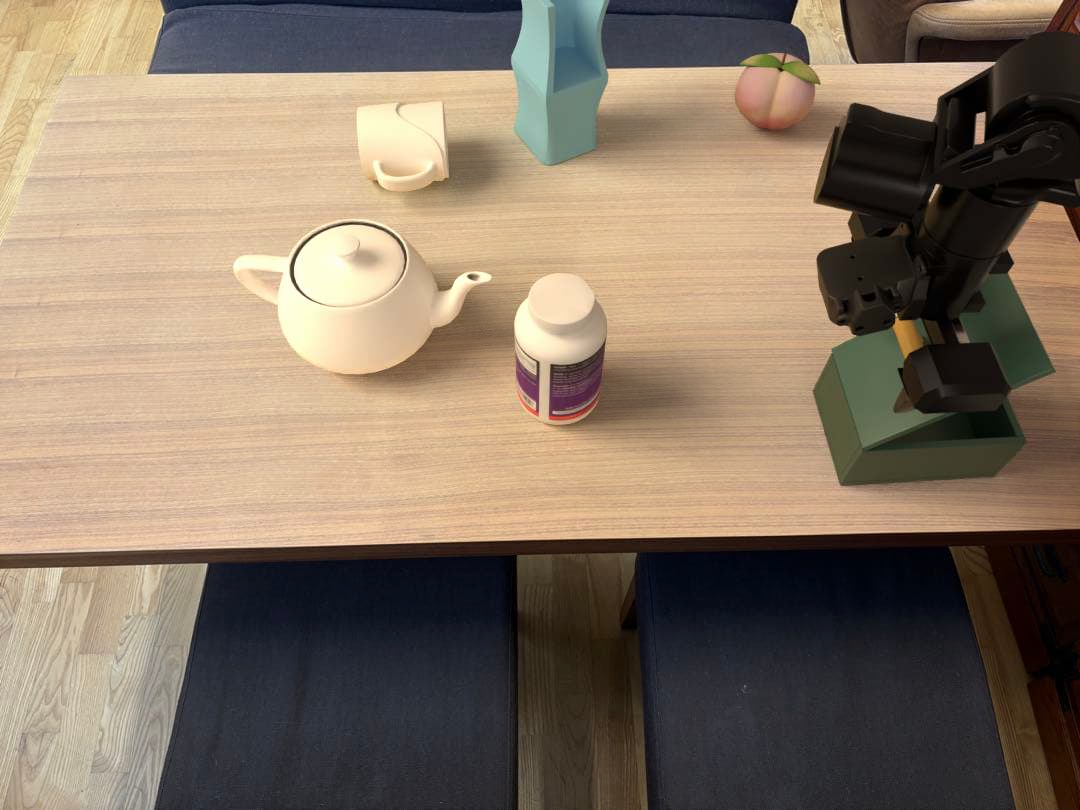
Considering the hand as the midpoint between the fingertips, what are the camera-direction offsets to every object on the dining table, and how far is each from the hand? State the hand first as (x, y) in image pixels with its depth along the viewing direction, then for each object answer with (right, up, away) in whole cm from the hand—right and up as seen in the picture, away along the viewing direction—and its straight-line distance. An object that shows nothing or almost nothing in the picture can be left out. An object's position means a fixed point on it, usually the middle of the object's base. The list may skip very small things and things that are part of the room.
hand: (883, 364), depth 70 cm
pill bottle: (-26, -2, +13) cm, 29 cm away
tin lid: (+5, 0, +1) cm, 5 cm away
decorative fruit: (-1, +31, +35) cm, 46 cm away
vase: (-26, +29, +33) cm, 51 cm away
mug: (-43, +23, +29) cm, 57 cm away
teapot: (-45, +4, +17) cm, 48 cm away
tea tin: (+6, -6, +11) cm, 13 cm away
